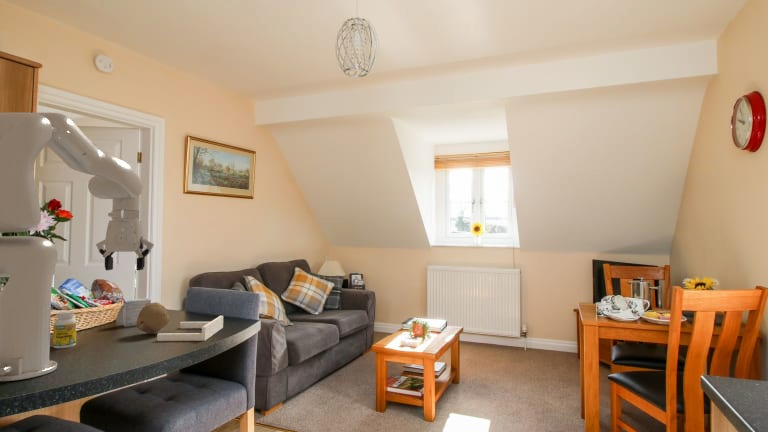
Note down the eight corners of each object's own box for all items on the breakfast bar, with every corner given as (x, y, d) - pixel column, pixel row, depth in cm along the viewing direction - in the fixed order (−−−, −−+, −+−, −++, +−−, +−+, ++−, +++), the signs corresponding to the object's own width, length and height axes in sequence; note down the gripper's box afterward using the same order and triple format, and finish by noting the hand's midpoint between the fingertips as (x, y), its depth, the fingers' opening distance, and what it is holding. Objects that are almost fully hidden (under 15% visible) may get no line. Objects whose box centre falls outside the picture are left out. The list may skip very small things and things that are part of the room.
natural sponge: (175, 331, 145) (176, 301, 145) (155, 338, 136) (156, 305, 137) (152, 330, 147) (152, 299, 148) (130, 336, 139) (131, 304, 139)
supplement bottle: (76, 343, 130) (77, 310, 131) (75, 347, 126) (76, 313, 126) (53, 345, 128) (54, 311, 128) (52, 349, 123) (53, 314, 123)
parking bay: (205, 340, 134) (205, 327, 134) (157, 341, 133) (157, 327, 133) (223, 327, 152) (223, 315, 152) (181, 327, 151) (181, 315, 151)
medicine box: (147, 322, 160) (148, 298, 161) (150, 324, 157) (151, 299, 157) (122, 325, 155) (123, 300, 156) (125, 327, 152) (125, 301, 152)
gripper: (90, 215, 139) (89, 271, 138) (148, 216, 140) (147, 271, 139) (104, 216, 146) (103, 268, 145) (158, 216, 147) (157, 268, 147)
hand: (124, 269), depth 142 cm, fingers open, 9 cm apart
